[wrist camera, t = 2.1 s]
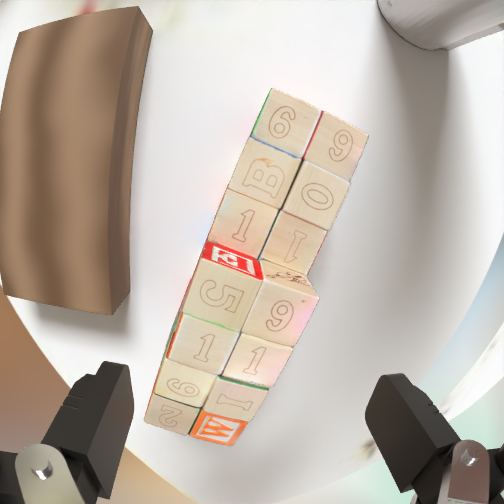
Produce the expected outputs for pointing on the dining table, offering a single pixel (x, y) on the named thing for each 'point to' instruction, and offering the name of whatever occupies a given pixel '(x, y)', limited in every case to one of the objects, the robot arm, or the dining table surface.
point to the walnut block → (71, 159)
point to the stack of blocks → (255, 271)
